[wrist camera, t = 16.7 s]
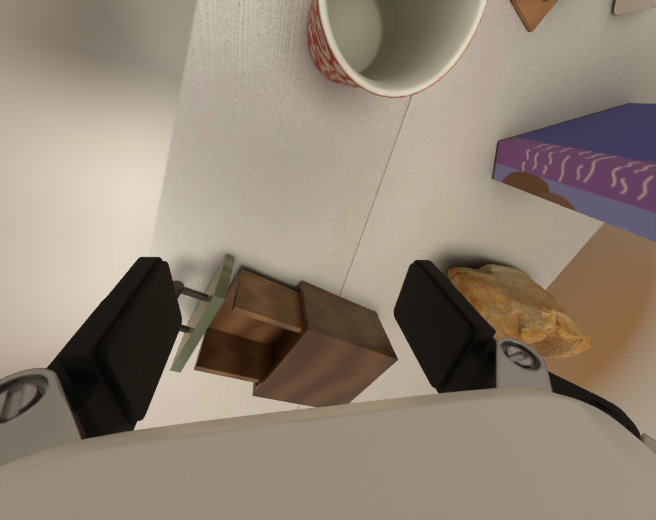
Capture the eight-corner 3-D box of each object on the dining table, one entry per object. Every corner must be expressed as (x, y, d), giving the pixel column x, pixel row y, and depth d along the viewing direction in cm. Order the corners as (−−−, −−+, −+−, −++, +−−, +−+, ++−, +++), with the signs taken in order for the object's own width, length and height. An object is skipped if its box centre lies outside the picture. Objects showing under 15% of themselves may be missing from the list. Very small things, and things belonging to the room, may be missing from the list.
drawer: (156, 314, 36) (130, 362, 29) (191, 241, 31) (170, 280, 24) (275, 347, 44) (275, 391, 37) (318, 294, 39) (326, 334, 32)
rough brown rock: (385, 310, 46) (422, 394, 34) (446, 237, 38) (522, 317, 26) (470, 328, 55) (523, 399, 44) (535, 273, 47) (621, 343, 35)
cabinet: (256, 340, 43) (252, 395, 35) (301, 280, 38) (308, 329, 30) (329, 361, 50) (339, 411, 42) (376, 312, 45) (398, 359, 37)
